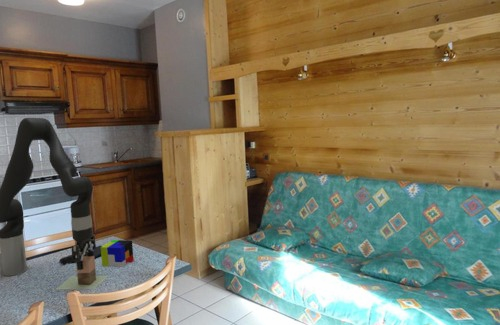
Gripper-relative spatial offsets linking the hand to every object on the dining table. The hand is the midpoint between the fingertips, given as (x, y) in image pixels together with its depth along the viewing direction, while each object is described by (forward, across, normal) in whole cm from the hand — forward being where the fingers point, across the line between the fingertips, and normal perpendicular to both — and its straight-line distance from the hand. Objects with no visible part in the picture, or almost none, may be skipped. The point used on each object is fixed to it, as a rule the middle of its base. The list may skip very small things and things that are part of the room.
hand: (85, 265), depth 145 cm
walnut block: (+7, 0, 0) cm, 7 cm away
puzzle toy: (+9, -21, +4) cm, 23 cm away
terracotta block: (+2, 0, 0) cm, 2 cm away
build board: (+8, 0, -2) cm, 9 cm away
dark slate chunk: (+9, -30, -17) cm, 36 cm away
